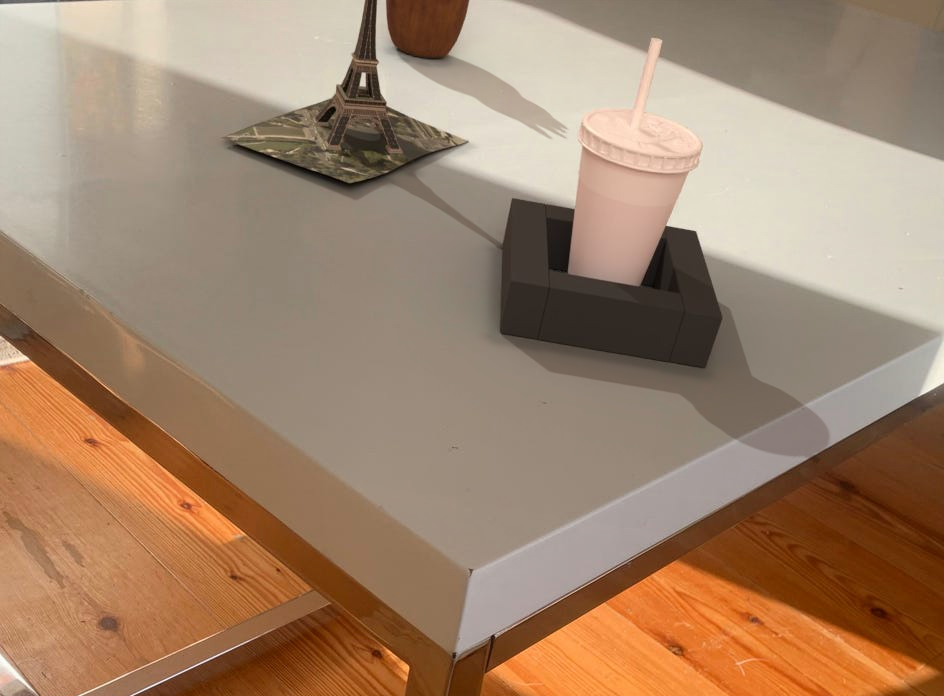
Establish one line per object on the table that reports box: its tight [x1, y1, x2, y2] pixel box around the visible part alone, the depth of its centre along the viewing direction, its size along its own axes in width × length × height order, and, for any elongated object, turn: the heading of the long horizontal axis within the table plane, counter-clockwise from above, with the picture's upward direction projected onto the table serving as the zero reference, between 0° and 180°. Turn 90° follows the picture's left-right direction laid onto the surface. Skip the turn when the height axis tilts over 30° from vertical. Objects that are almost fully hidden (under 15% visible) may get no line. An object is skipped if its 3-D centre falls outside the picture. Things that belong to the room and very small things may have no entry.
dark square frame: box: [499, 197, 724, 369], centre depth 62 cm, size 11×11×3 cm
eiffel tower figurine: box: [220, 0, 470, 184], centre depth 72 cm, size 15×10×13 cm
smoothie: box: [567, 37, 704, 287], centre depth 59 cm, size 6×6×14 cm
